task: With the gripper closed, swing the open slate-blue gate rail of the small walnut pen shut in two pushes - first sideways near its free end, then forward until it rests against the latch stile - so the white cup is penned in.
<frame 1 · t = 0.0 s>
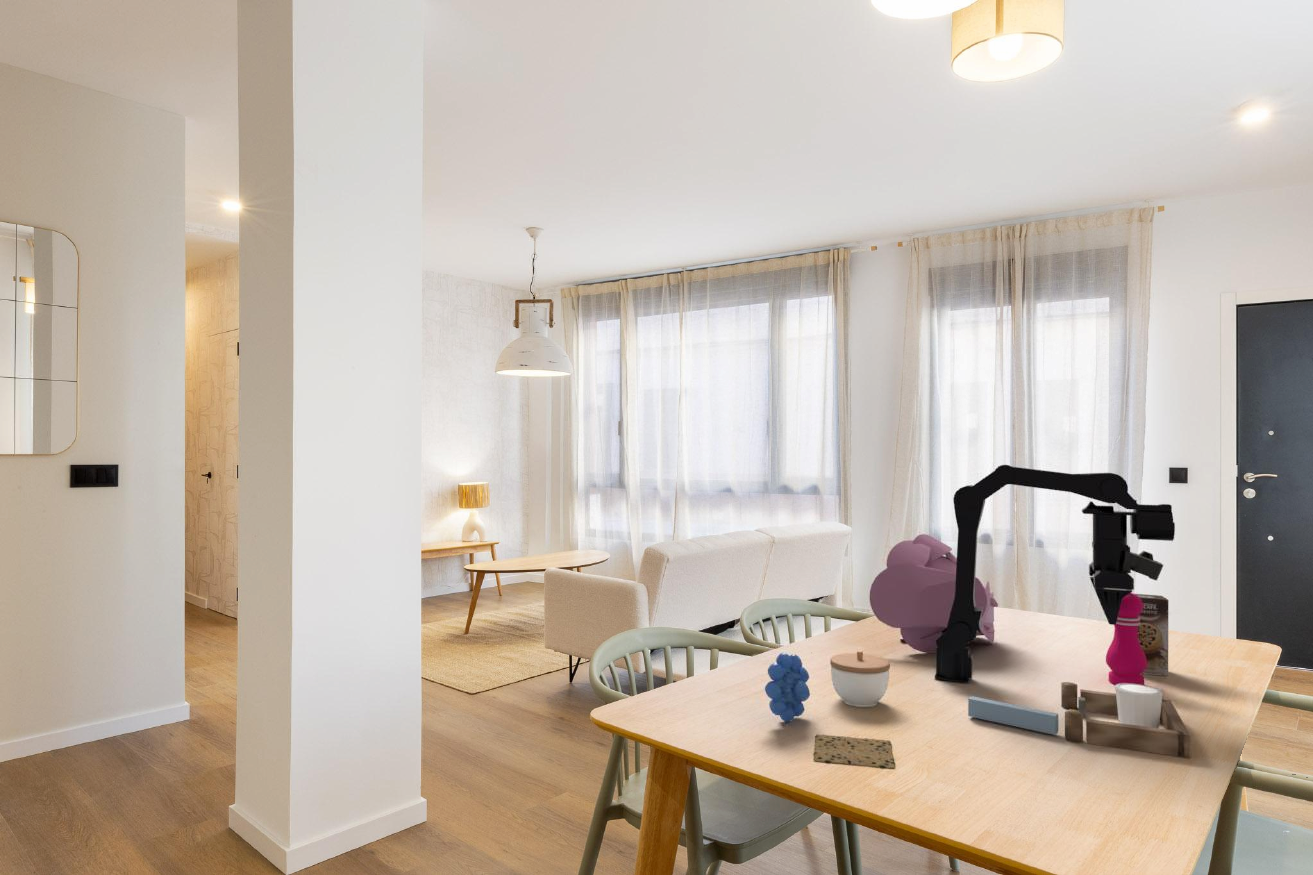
hand: (1110, 619, 151), 15 cm above the table, tool pointing down, fingers open, 9 cm apart
fence: (1071, 722, 135), on the table
cookie: (853, 754, 122), on the table
white cup: (1138, 731, 132), resting in fence
grapes: (792, 724, 134), on the table
gate: (1012, 714, 134), point 2 cm above the table, hinge at 75.0°
lidded jar: (859, 703, 146), on the table
pepper mill: (1126, 684, 159), on the table
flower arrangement: (940, 644, 193), on the table
dark tall box: (1141, 671, 169), on the table
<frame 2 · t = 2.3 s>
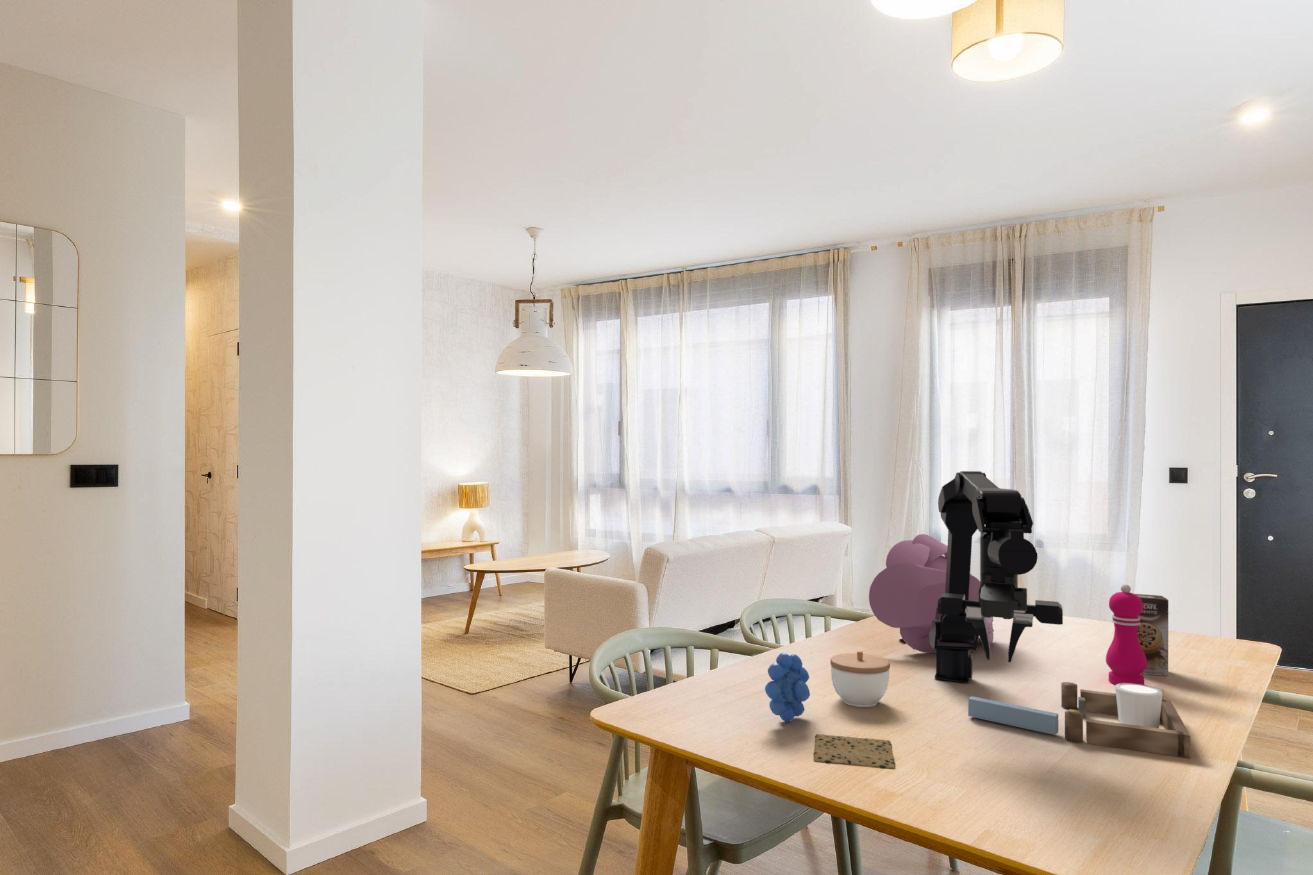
hand: (999, 660, 130), 12 cm above the table, tool pointing down, fingers open, 3 cm apart
nothing on the table moved.
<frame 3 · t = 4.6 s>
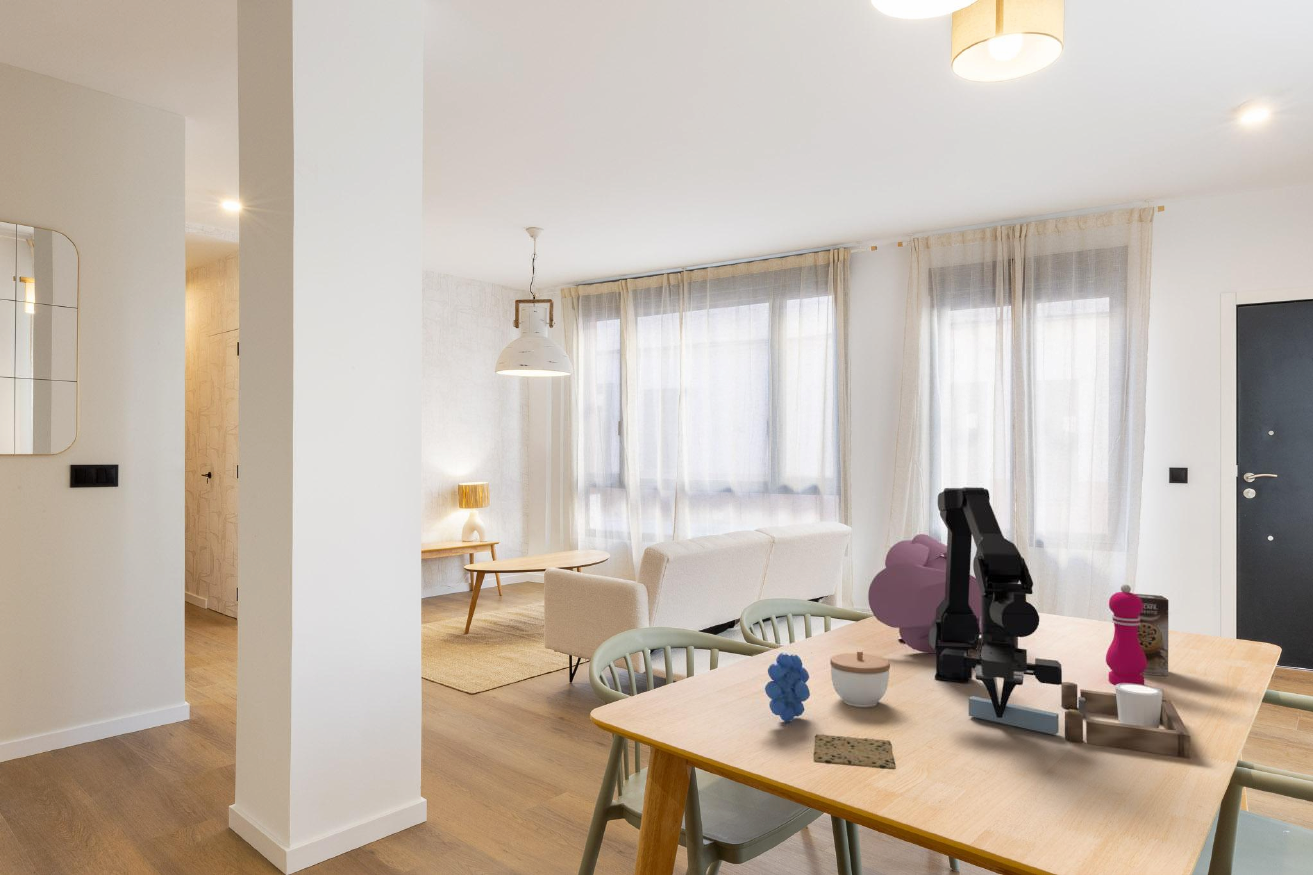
hand: (999, 717, 133), 2 cm above the table, tool pointing down, fingers closed
gate: (1012, 714, 134), point 2 cm above the table, hinge at 74.2°, touching gripper
everything else where it was.
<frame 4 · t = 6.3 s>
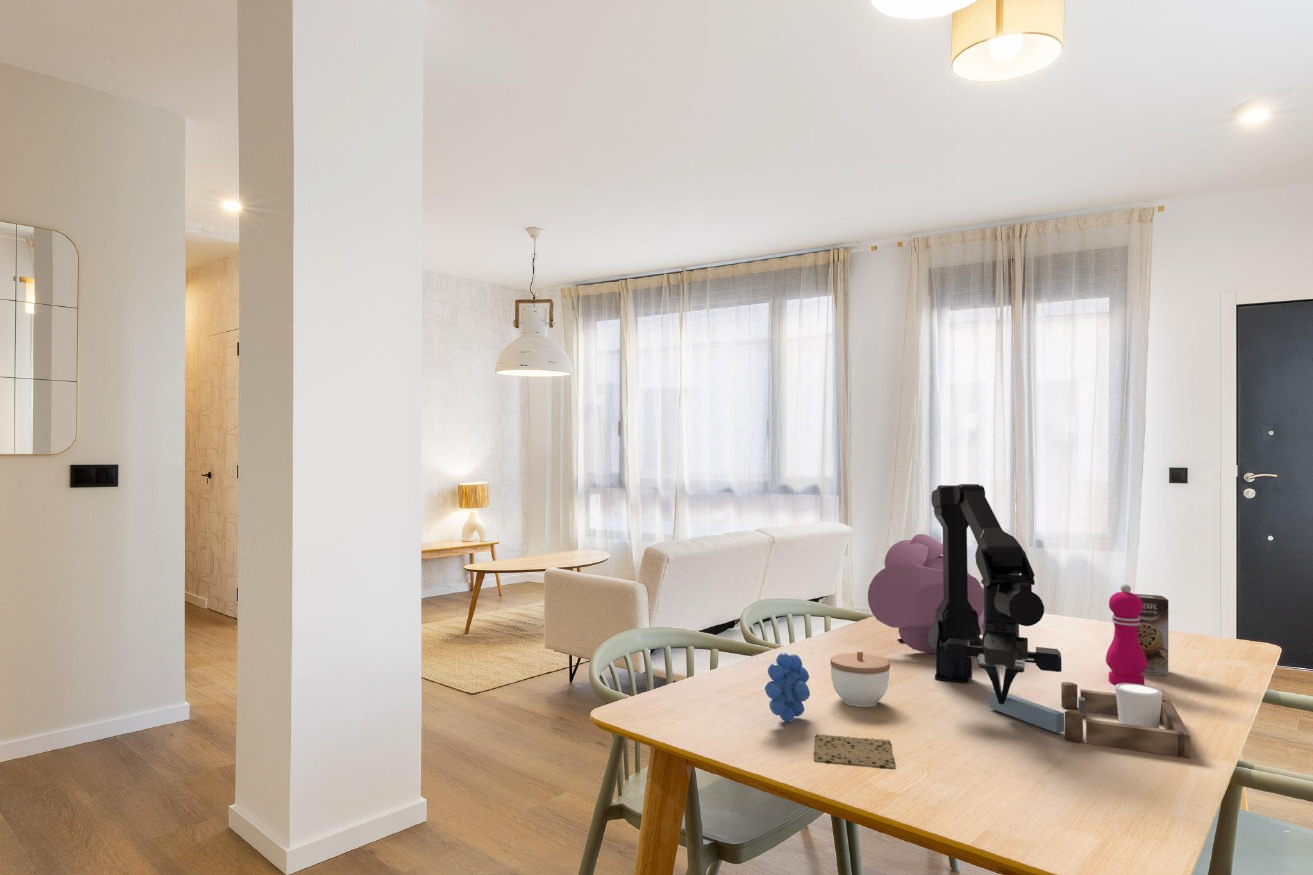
hand: (1001, 703, 138), 2 cm above the table, tool pointing down, fingers closed
gate: (1025, 710, 136), point 2 cm above the table, hinge at 49.4°
everything else where it was.
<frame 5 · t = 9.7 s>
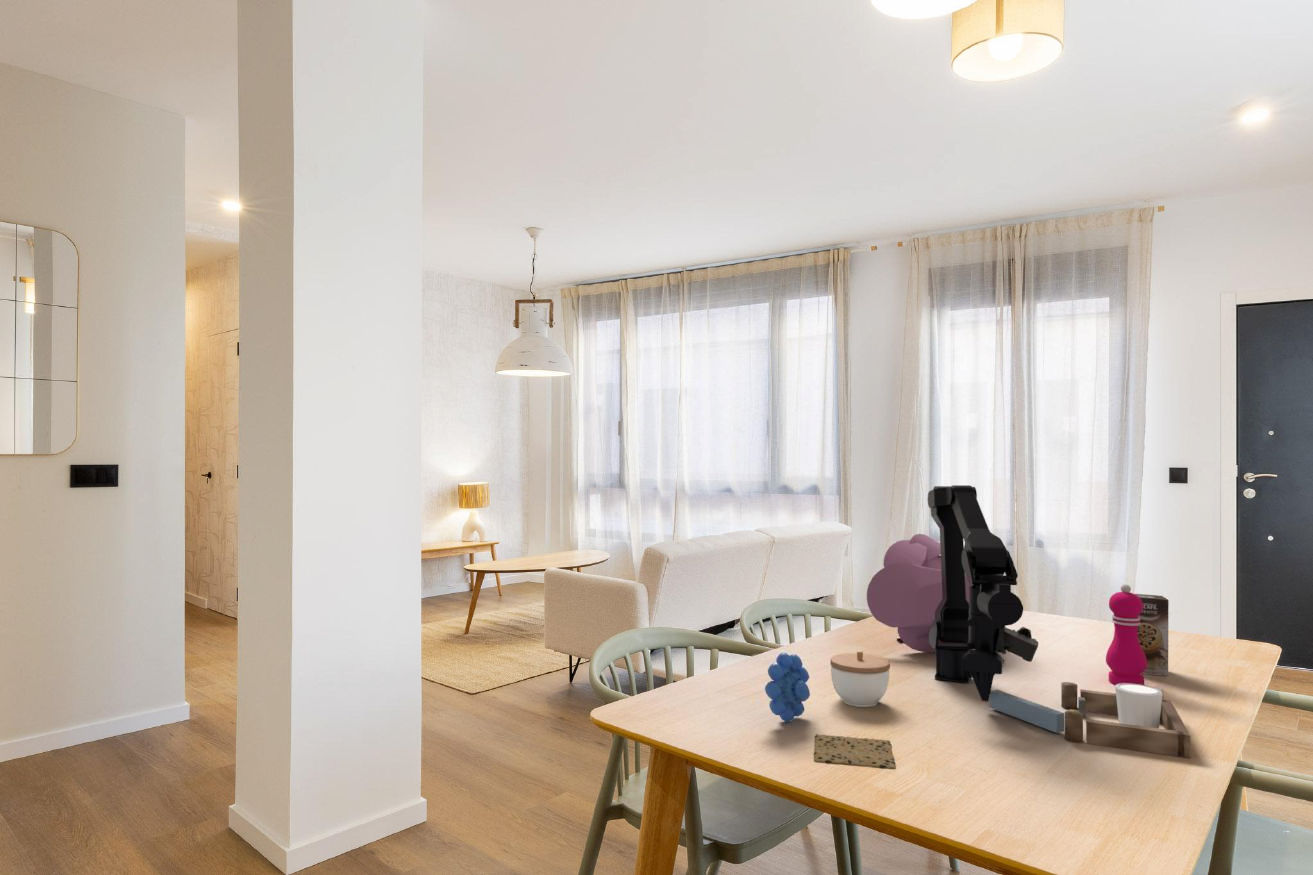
hand: (985, 700, 141), 2 cm above the table, tool pointing down, fingers closed
gate: (1025, 710, 136), point 2 cm above the table, hinge at 48.6°, touching gripper
everything else where it was.
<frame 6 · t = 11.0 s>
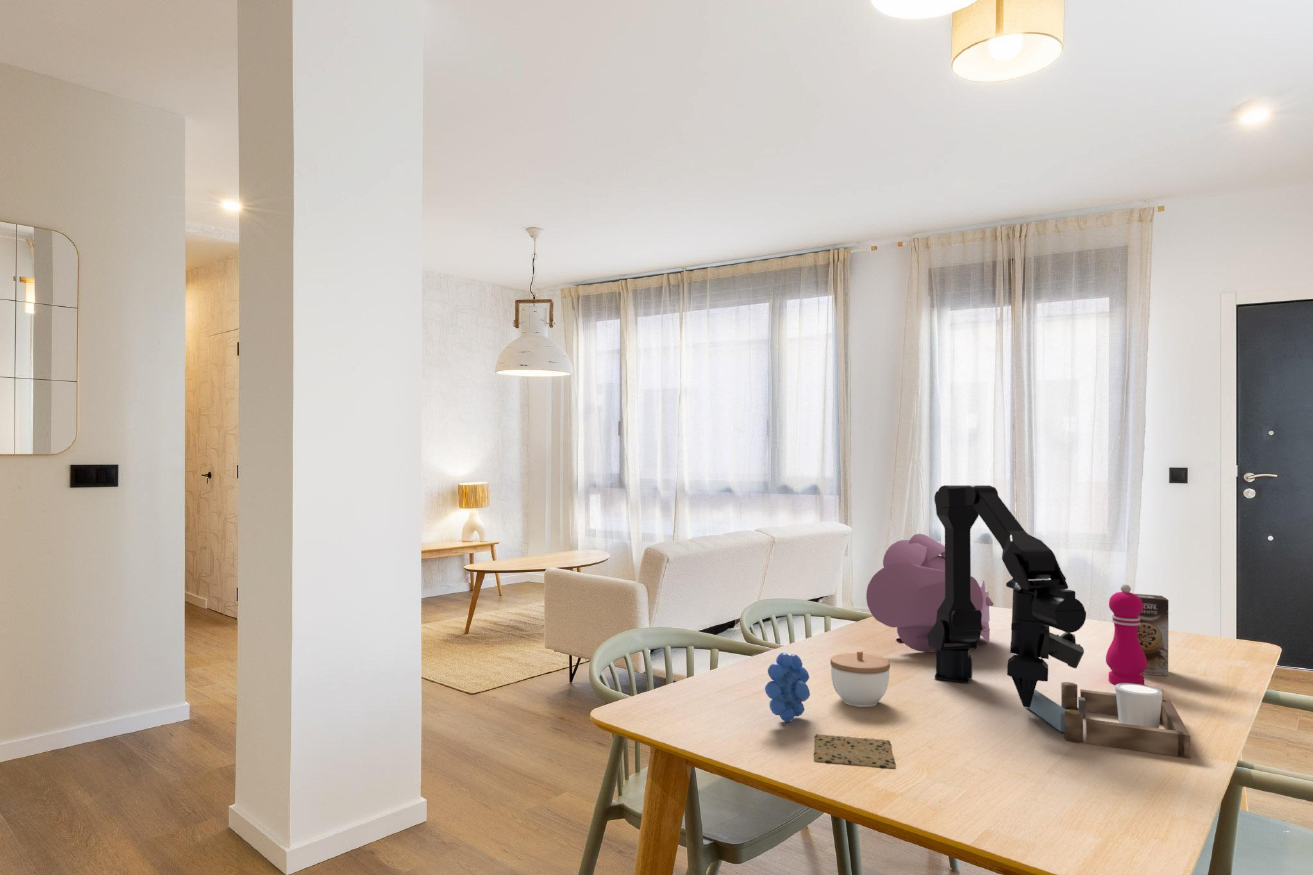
hand: (1026, 705, 139), 2 cm above the table, tool pointing down, fingers closed
gate: (1046, 708, 137), point 2 cm above the table, hinge at 23.8°, touching gripper
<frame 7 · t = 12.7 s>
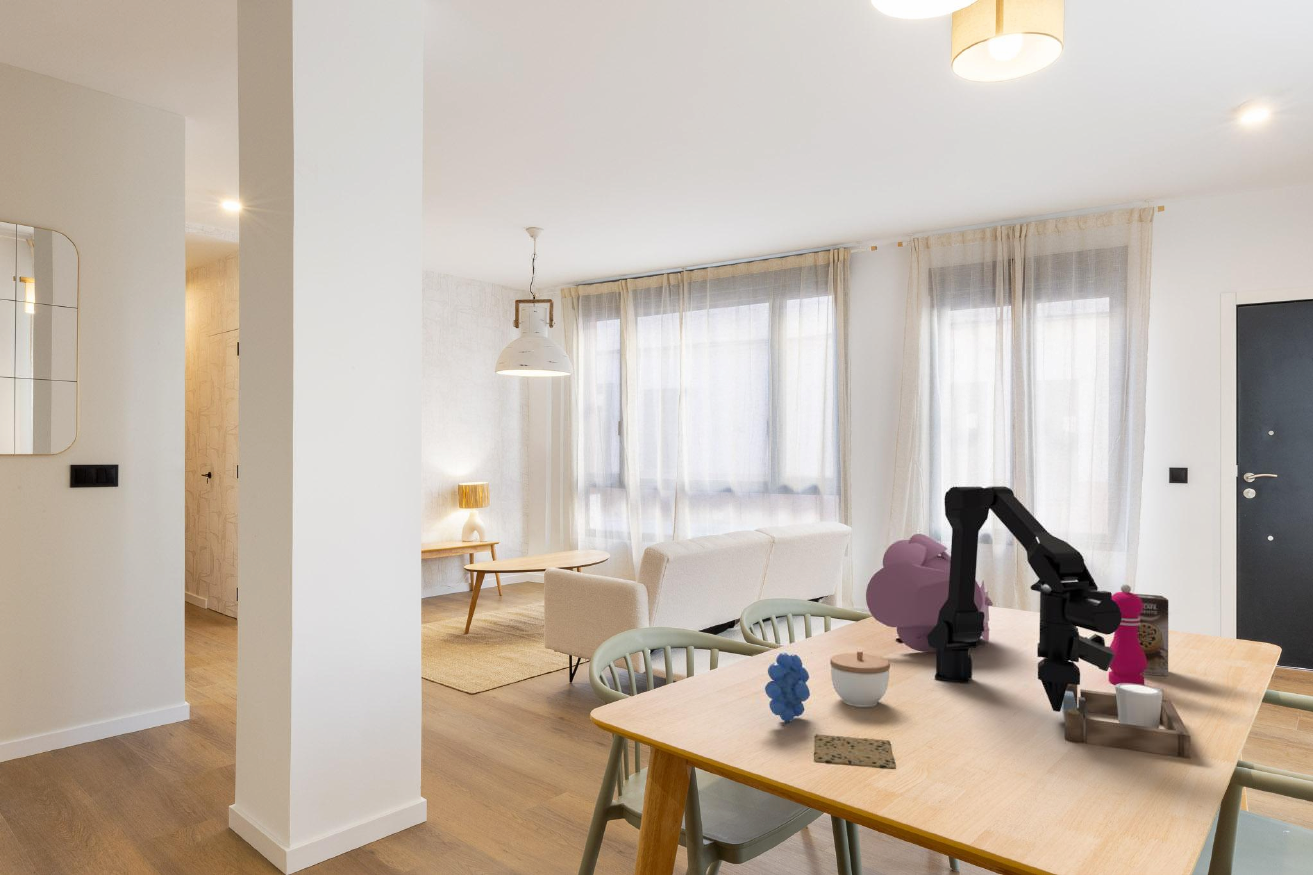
hand: (1056, 710, 137), 2 cm above the table, tool pointing down, fingers closed, pressing on gate
gate: (1069, 710, 136), point 2 cm above the table, hinge at 1.4°, touching gripper
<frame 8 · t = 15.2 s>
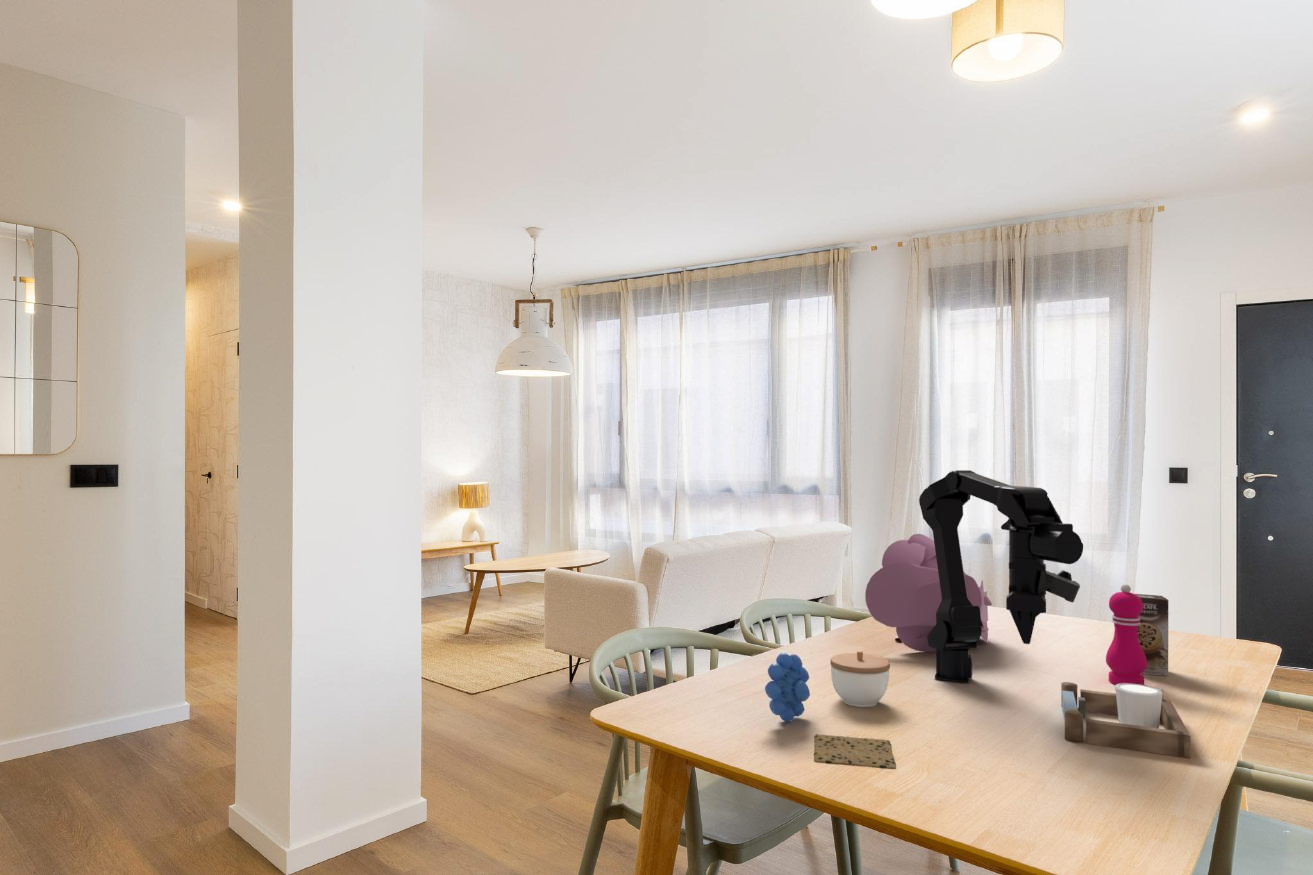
hand: (1026, 643, 142), 12 cm above the table, tool pointing down, fingers closed
gate: (1070, 710, 136), point 2 cm above the table, hinge at 1.3°
at the end: gate at +1° (first picture: +75°); white cup inside the target area (0.0 cm from its centre), resting in fence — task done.
